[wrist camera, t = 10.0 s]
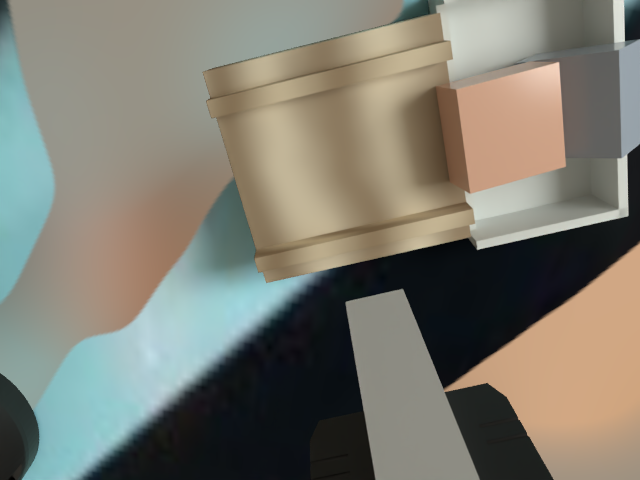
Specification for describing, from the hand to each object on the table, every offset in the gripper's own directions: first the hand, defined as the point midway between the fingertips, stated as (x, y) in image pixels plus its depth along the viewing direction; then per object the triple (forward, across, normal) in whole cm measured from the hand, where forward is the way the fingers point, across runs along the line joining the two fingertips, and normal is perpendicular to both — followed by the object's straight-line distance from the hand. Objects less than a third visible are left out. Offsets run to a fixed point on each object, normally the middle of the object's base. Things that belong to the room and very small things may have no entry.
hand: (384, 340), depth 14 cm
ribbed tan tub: (+25, +1, 0) cm, 25 cm away
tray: (+24, +13, 0) cm, 28 cm away
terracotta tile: (+21, +10, 0) cm, 23 cm away
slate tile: (+20, +14, 0) cm, 24 cm away
